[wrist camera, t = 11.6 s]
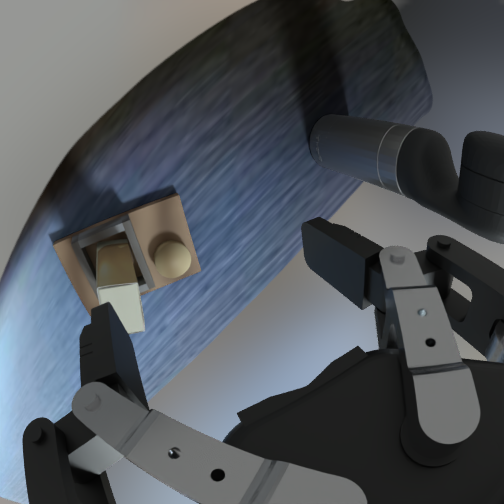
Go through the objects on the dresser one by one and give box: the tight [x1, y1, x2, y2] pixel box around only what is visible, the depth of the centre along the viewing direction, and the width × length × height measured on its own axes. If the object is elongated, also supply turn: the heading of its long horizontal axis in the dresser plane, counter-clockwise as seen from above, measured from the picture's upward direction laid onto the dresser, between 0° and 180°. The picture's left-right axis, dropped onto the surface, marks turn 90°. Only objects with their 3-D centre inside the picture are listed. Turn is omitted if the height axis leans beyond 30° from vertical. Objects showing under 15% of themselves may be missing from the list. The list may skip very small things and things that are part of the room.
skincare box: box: [96, 239, 145, 334], centre depth 33 cm, size 6×4×12 cm
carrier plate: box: [53, 193, 201, 316], centre depth 38 cm, size 18×12×4 cm, turn 101°
